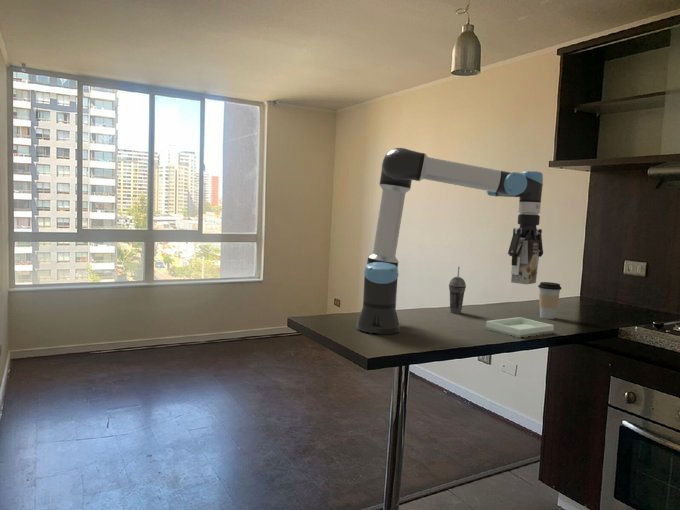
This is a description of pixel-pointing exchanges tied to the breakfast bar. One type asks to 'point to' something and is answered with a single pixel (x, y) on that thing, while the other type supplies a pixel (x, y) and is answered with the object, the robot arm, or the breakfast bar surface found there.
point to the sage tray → (519, 327)
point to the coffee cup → (548, 299)
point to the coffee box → (527, 263)
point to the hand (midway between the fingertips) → (524, 274)
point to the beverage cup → (456, 294)
